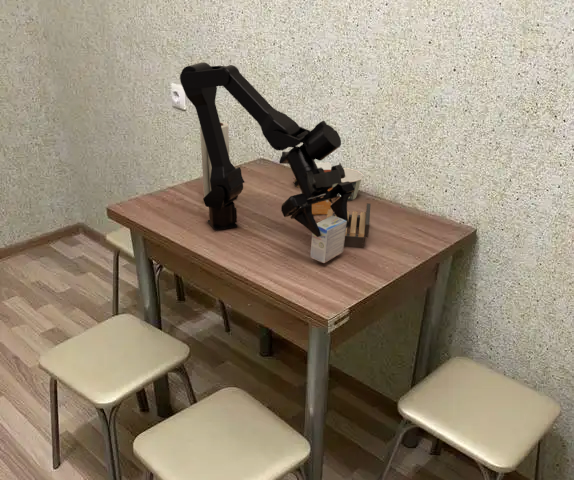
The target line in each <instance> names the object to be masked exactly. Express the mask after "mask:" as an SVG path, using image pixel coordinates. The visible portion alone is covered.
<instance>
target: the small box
mask: <svg viewBox="0 0 574 480" xmlns="http://www.w3.org/2000/svg"><path fill="white" fill-rule="evenodd" d="M315 163H316V165H317V167H318V168H321V167H322V169H323V170H324V172H329V171H331V167H332V166H333V165H332V163H331V162H330V161H326V162H323V161H322V162H321V161H315ZM332 186H333V185H332ZM332 188H333V187H331V188H330V189H328V191H330V190H331V189H332ZM301 193H302V192H301V189H300V193H299V194H301ZM320 198H322V197H320ZM314 200H315V199H314ZM331 205H332V203H331V202H329V200H326V201H322V202H319V203H315V204H312V214H313V216H314V215H327V213H328V209H331V207H330V206H331ZM331 210H332V209H331Z"/></svg>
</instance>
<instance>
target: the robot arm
mask: <svg viewBox="0 0 574 480" xmlns="http://www.w3.org/2000/svg"><path fill="white" fill-rule="evenodd" d="M240 72H241V71H240V70H239V68H238V67H237V66H235V65H233V64H229V65H211V64H209V63H207V62H205V61H204V62H198V63H194V64H190V65H186V66H185V67H184V68H182V70H181V72H180V74H179V81H180V84H181V86H182V89H183V92H184V94H185V96H186V98H187V100H189V102H190V104H192V105H193V106H194V109H195V112H196V115H197V118H198V122H199V127H201V130H202V133H203V137H204V140H205V144H206V148H207V151H208V155H209V159H210V162H211V166H212V169H211V176H210V185H211V191H210V192H209V193H208V194H207V195H206V196H205V197H204V196H203V198H202V201H203V203H204V206H205V207H207V208H208V216H209V217H208V218H209V219H207V224H208V225H209V226H210V227H211V228H212V229H213V230H214V231H215V232H216V231H222V230H229V229H237V228H238V224H237V222H238V213H237V210H238V209H237V207H236V206H235V205H236V204H235V201H237V200H238V198H239V195H240V194H242V191H244V183H245V180H244V178H243V174H242V169H241V167H240V166H238V167H235V166H234V164H233V163H232V162H231V159H230V154H229V155H228V151H227V147H226V143H225V139H224V136H223V132H222V128H221V124H220V122H221V120H220V116H219V113H218V109H217V104H216V99H217V90H218V87H223V88H224V89H225V90H226V91H227V92H228V93H229V94H230V95H231V96H232V97H233V98H234V99H235V100H236V101H237V102H238V104H239V105H240V106H242V108H243V109H244V110H245V111H246V112H247V113H248V114H249V115H250V116H251V117H252V118H253V119H254V120H255V121H256V122H257V124H258V125H259V128H260V130H261V132H262V135H263V137H264V139H265V140H266V141H267V143H268V144H269V145H270V146H271V148H273V150H275V151H281V155H280V158H279V161H278V162H279V164H280V165H289V167H290V169H291V172H292V175H293V176H294V179H295V178H296V180H297V181H296V182H295V181H294V182H293V185H294V187H296V188H298V186H299V187H300V188H299V189H300V190H301V192H302V193H301V194H300V193H298V194H293V195H290V196H289V197H288V198H286V200H285V201H284V202H283V203H282V204H281V207H280V211H281V214H282V216H283V217H284V218H287V217H289V218H290V219H291V220H295V221H297V222H298V223H299V224H301V225H302V226H303V227H304V228H306V229H307V230H308V231H310V232H311V234H312V233H313V234H314V235H316V236H317V237H319V236H321V234H320V231H319V228H318V226H317V223H318V222H317V220H316V219H315V217H314V215H313V214H312V204H315V203H319V202H322V201H326V200H329V202H331V206H330V207H331V210H333V213H335V215H336V216H337V217H339V218H341V219H344V220H346V221H347V224H346V228H347V227H348V216H347V211H348V202H349V201H348V198H349V197H350V196H351V194H352V193H353V192H354V191H355V189H354V187H353V185H352V183H351V182H349V181H347V182H343V183H342V181H341V179H342V178H345V171H344V169H343V168H344V167H343V165H342V164H335V165H332V167H331V171H329V172H324V170H323V169H322V167H321V168H318V167H317V165H316V163H315V162H316V161H315V160H317V161H318V162H321V161H323V160H324V159H326V158H327V157H328V156H330V155H331V154H332V153H333V152H334V151H336V150H337V149H339V148H340V147H341V146H342V139H341V136H340V135H339V132H338V131H337V130H336V129H334V128H333V127H332V126H331V125H329V124H327V123H326V121H325V120H321V121H320V122H318V123H317V124H316V125H314V127H313V128H312V129H311V130H310V129H307V128H304V127H302V126H300V125H299V124H298V122H296V121H295V120H294V119H292V118H291V117H290V116H289V115H287V114H286V113H284V112H282V111H280V110H277V109H276V108H275V107H273V106H272V105H271V104H270V103H269V102H268V100H266V99H265V98H264V97H263V95H262V94H261V93H260V92H259V91H258V90H257V89H256V88H255V87H254V86H253V85H252V84H251V83H250V82H249V81H248V80H247V79H246V77H244V75H243V74H242V73H240ZM289 148H291V149H289ZM287 149H289V151H285V150H287ZM337 183H338V184H337ZM333 184H337V185H336V186H335V187H334V188H333V189H331V190H330V191H328V189H330V188H331V187H333V186H332V185H333ZM320 197H322V198H320ZM314 199H315V200H314ZM348 228H349V227H348ZM348 228H347V229H348Z"/></svg>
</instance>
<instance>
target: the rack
mask: <svg viewBox="0 0 574 480" xmlns="http://www.w3.org/2000/svg"><path fill="white" fill-rule="evenodd" d="M371 204H372V203H366V207H365V211H360V214H358V211H356V210H355V211H354V210H352V213H351V214H350V210H347V216H348V227H347V228H346V232H345V240H344V248H357V249H364V244H365V238H369V234H370V233H369V232H370V224H371V223H370V222H371ZM332 215H333V216H336V215H335V213H334V212H333V210H332V209H328V213H327V214H326V218H328V217H330V216H332ZM336 217H337V216H336ZM348 228H350V229H349V233H348ZM357 228H358V234H357V233H356V232H357Z"/></svg>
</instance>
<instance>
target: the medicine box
mask: <svg viewBox="0 0 574 480" xmlns="http://www.w3.org/2000/svg"><path fill="white" fill-rule="evenodd" d="M316 223H317V226H318V228H319V231H320V234H321V236H319V237H317V236H316V235H314V234H313V233H312V232H311V243H310V257H309V258H311V259H313V260H315V261H318V262H319V263H323V264H325V263H327V262H329V261H330V260H333V259H334V258H336V257H337V256H339V255H341V254H342V253H344V248H345V247H344V240H345V232H346V224H347V221H346V220H344V219H341V218H339V217H336V216H333V215H332V216H330V217H328V218H327V217H326V218H324V219H322V220H319V221H318V222H316Z"/></svg>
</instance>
